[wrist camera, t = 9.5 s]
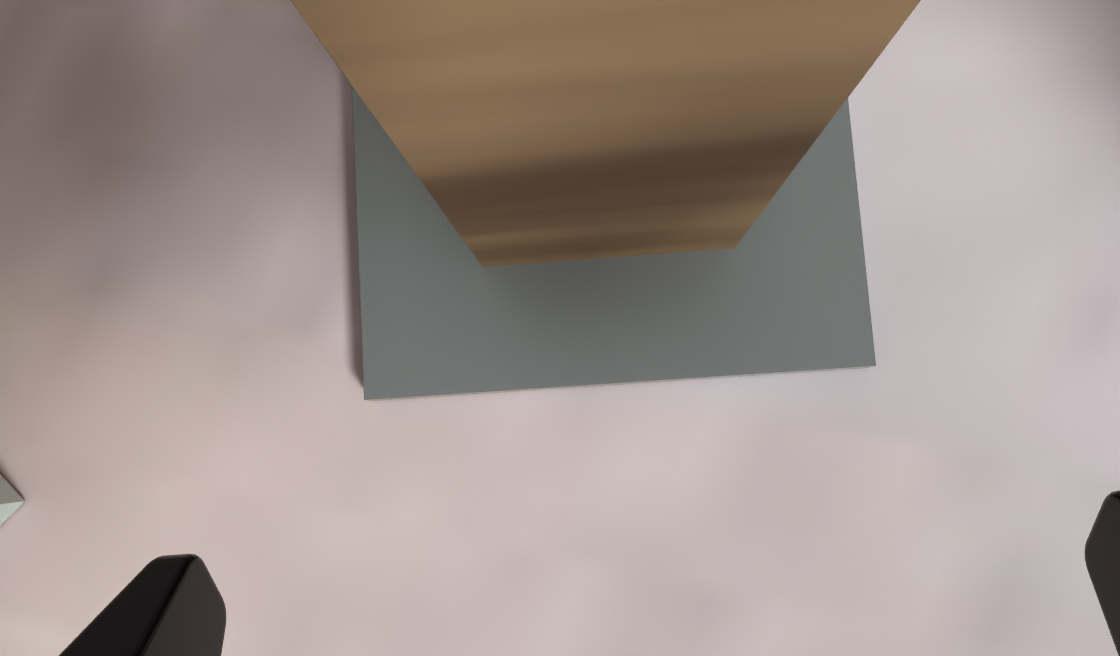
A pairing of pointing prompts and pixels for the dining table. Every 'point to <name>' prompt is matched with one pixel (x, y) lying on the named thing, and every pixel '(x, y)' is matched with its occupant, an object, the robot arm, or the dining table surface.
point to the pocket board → (8, 500)
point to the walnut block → (603, 110)
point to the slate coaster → (607, 292)
